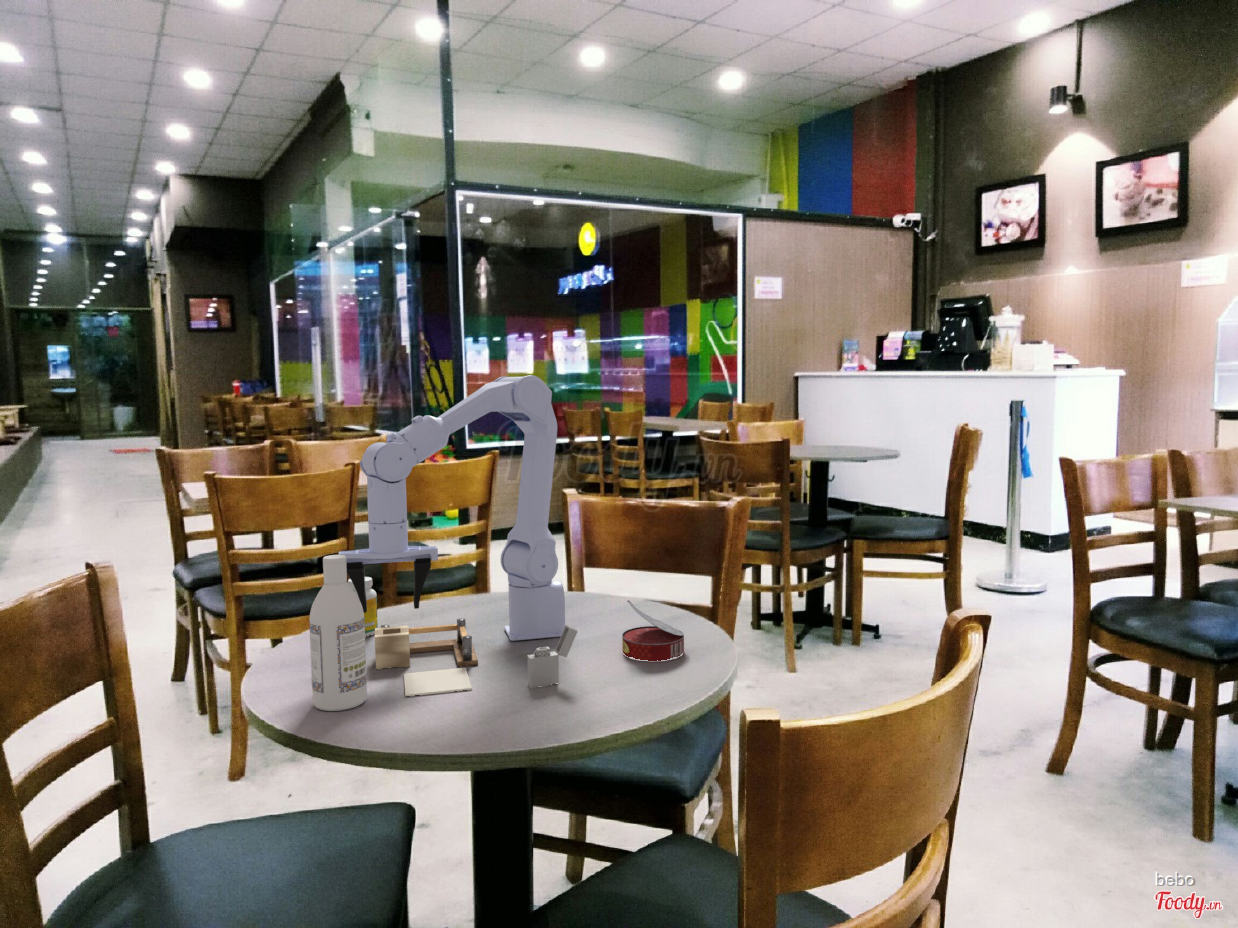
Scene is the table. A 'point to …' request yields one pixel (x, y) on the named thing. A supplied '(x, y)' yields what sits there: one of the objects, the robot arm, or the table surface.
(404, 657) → the hollow wooden cube
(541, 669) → the lighter
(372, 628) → the supplement bottle
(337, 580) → the bath foam
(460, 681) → the coaster
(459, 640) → the wooden rail
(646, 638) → the canned food
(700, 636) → the table surface
